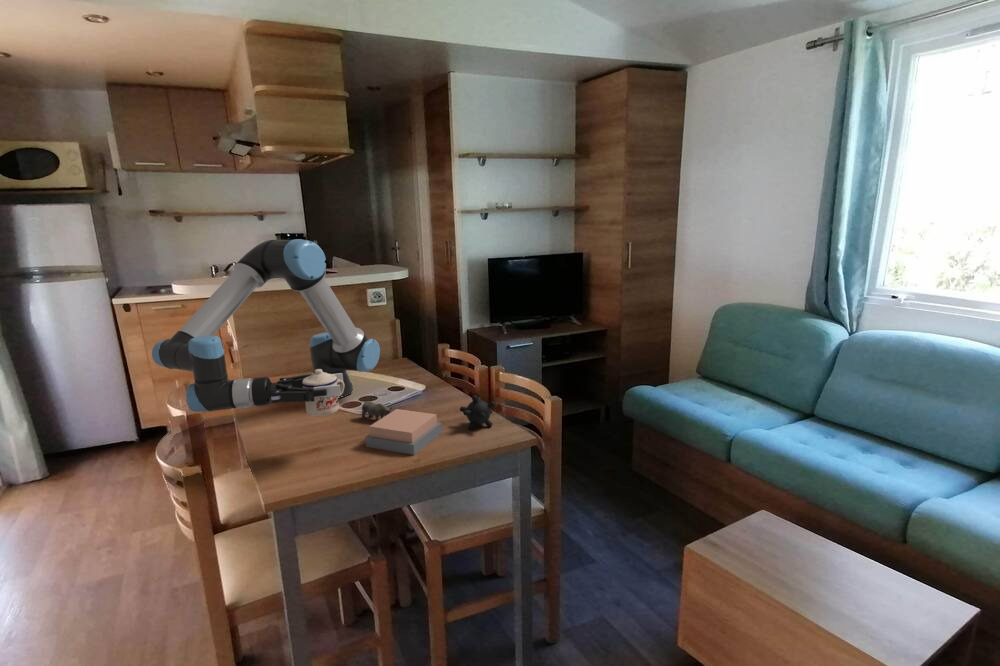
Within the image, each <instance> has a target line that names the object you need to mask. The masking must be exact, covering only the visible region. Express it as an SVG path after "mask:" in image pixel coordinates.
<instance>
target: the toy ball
mask: <svg viewBox="0 0 1000 666" xmlns="http://www.w3.org/2000/svg"><path fill="white" fill-rule="evenodd" d="M471 400H472V401H471V402H469V403H468V405H467V406H460V407H459V411H460V412H461V413H463V414H462V415H464V416H466V418H467V420H468V421H469V423H468V424H467V429H468V430H470V431H471V430H473V428H474V427H475V425H481V426H482V425H483V424H485V425H486V426H487V427H488V428H491V427H492V426H493V423H492V421H491V420H490V417H491V414H493V409H492V408H494V407H495V406H496V402H495V401H491V402H489V403H487V402H486V401H485V400H482V399H481V397H480V396H477V395H474V394H473V395H472V397H471Z"/></svg>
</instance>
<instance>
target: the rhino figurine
mask: <svg viewBox="0 0 1000 666" xmlns="http://www.w3.org/2000/svg"><path fill="white" fill-rule="evenodd" d="M392 409H393V406H391V407H388V406H386V405H384V404H383V403H375V402H373V401H364V403H363V404H362V406H361V420H366V419H367V417H366V414H368V417H369V418H374V417H375V419H374V423H375V422H377V421H378V420H379V417H380V419H382V418H383V417H385V416H386V415H388V414H389V413H391V412H392V411H391V410H392Z"/></svg>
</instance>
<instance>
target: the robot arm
mask: <svg viewBox="0 0 1000 666" xmlns="http://www.w3.org/2000/svg"><path fill="white" fill-rule="evenodd" d="M326 260H327V258H326V255H325V252H324V251H323V250H322V248H321V247H320V246H319V245H318V244H317V243H315V242H313V241H311V240H307V239H301V238H298V239H268V240H266V241H263V242H261V243H259V244H257V245H256V246H254V247H253V248H251V249H250V250H249V251H248V252H246V254H244V255H243V256H242V257H241V258H240V259H239V261H237V262H236V263H235V264H234V265H233V272H232V273H231V274H230V275H229V276H228V277H227V278H226V279H225V280H224V281H223V282H222V284H221V285H220V286H218V288H217V289H216V290H215V291H214V292H213V293H212V294H211V295H210V296H209V297H208V298H207V300H206V301H205V302H204V303H202V305H201V306H200V307H199V308H198V309H197V310H196V312H195V313H193V314H192V315H191V317H189V319H188V320H186V322H185V323H184V324H183V325H182V326H181V327H180V328H179V330H178V331H176V333H175V334H174V335H173V336H172V337H171V338H168V339H167V338H166V339H161V340H160V341H158V342H156V343H155V344H154V345H153V347H152V350H151V357H152V360H153V361H154V363H155V364H156V365H158V366H160V367H163V368H166V369H169V370H180V371H187V372H192V374H193V379H194V382H193V383H190V384H189V385H188V386H187V387H186V392H185V395H186V398H185V399H186V400H185V401H186V404H187V407H188V408H189V410H190V411H191V412H195V413H196V412H199V413H200V412H215V411H222V410H231V409H240V408H242V409H243V410H245V409H247V408H249V407H250V408H251V407H254V406H255V407H262V406H269V405H271V403H272V404H275V403H291V402H292V403H299V402H300V403H301V402H302V403H303V402H304V403H305V402H309V401H311V402H313V401H315V400H314V397H315V398H318V397H328V396H338V395H341V391H340V387H341V385H340V382H337V385H330V386H320V387H314V390H313V389H310V388H303V385H302V381H303V379H305V378H306V377H309V376H311V375H312V374H314V373H315V370H317V369H322V371H323V372H325V373H328V374H333V375H335V376H336V377H337V379H339V380H342V381H343V382H344V391H343V393H342V395H341V396H345V395H347V394H349V393H351V392H352V391H353V392H354V385H353V383H352V382H351V380H350V377H349V374H348V371H354V372H359V373H361V372H363V373H364V372H366V373H367V372H371V371H372V370H373V369H374V368H375V367H376V366H377V364H378V362H379V360H380V354H381V348H380V344H379V342H378V341H377V339H373V338H368V337H367V335H366V334H365V332H364V331H363V330H362V329H361V328H359V327H356V326H355V325H354V323H353V321H352V319H351V318H350V316H349V315H348V313H347V312H346V310H345V309H344V306H342V304H341V302H340V301H339V299H338V297H337V296H336V294H335V292H334V291H333V290H332V288H331V286H330V284H329V283H328V282H327V280H326V278H325V276H326V268H327V263H326V262H325V261H326ZM272 279H284V280H285V282H286V283H287V285H288V286H289V288H290V289H291V290H292V291H295V292H298V293H299V292H300V294H301V296H302V297H303V299H304V300H305V302H306V303H307V304H308V306H309V307H310V309H311V310H312V312H313V313H314V315H315V316H316V318H317V319H318V321H319V322H320V324H321V325H322V327H323V328H324V330H325V331H326V332H321V333H318V334H317V333H316V334H314V335H312V336H311V337H310V338H309V339H310V340H309V349H310V350H309V352H310V356H311V365H312V366H311V367H312V371H313V373H309V374H302V375H297V376H296V375H295V376H291V377H280V378H279V380H278V381H277V382H272V381H271V379H270V378H269V376H263V377H262V376H261V377H254V378H252V377H249V378H248V377H247V378H238V379H231V380H230V379H229V378H228V373H227V366H226V365H227V364H226V359H225V358H226V357H225V349H224V347H223V341H222V339H221V337H219V336H217V335H216V334H217V332H218V331H219V330H220V329H221V328H222V327H223V326H224V324H226V322H228V320H229V319H230V318H231V317H232V316H233V315H234V313H235V312H236V311H237V310H238V309H239V308H240V306H241V305H242V304H244V303H245V301H246V300H247V298H248V297H249V296H250V295H251V294H252V293H253V292H254V290H255V289H257V288H262V287H263V286H264V285H265V284H266V283H267V282H269V281H270V280H272ZM341 396H339V397H341Z"/></svg>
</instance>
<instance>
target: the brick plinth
mask: <svg viewBox="0 0 1000 666" xmlns="http://www.w3.org/2000/svg"><path fill="white" fill-rule="evenodd" d="M437 416H438V414H437V413H436V414H435V413H429V412H421V411H413V410H407V409H400V408H399V409H398V408H396V409H394V410H393V411H391V413H389V414H388V415H386V416H384V417H383V418H382V419H381V418H380V419H378V421H377V422H375V421H374V422H373V423H372V424H371V425H369V426H368V427H369V428H368V429H369V434H367V435H366V436H365V437H364V439H365V440H364V441H365V447H366V448H371V449H377V450H383V451H388V452H394V453H399V454H406V455H412V456H415V455H417V454H418V453H419V452H420V451H421V450H423V449H424V448H425V447H426V446H428V444H430V443H431V442H433V440H435V439H436V438H437V437H438V436H440V435H441V434H442V433H443V424H442V422H439V421H438V419H437V418H438V417H437Z"/></svg>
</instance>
